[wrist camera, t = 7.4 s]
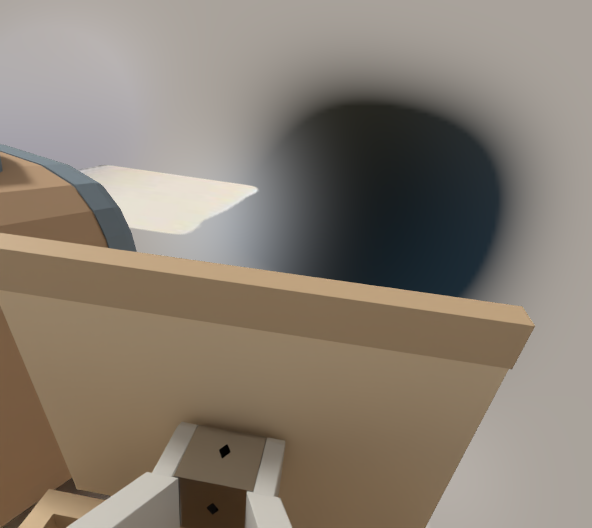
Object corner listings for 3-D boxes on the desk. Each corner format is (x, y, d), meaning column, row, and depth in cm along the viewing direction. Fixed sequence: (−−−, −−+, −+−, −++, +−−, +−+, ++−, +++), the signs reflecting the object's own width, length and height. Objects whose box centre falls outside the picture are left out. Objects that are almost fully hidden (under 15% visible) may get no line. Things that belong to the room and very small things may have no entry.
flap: (412, 555, 13) (535, 325, 7) (75, 489, 13) (-29, 244, 8) (410, 534, 13) (522, 306, 8) (86, 472, 14) (-5, 232, 9)
